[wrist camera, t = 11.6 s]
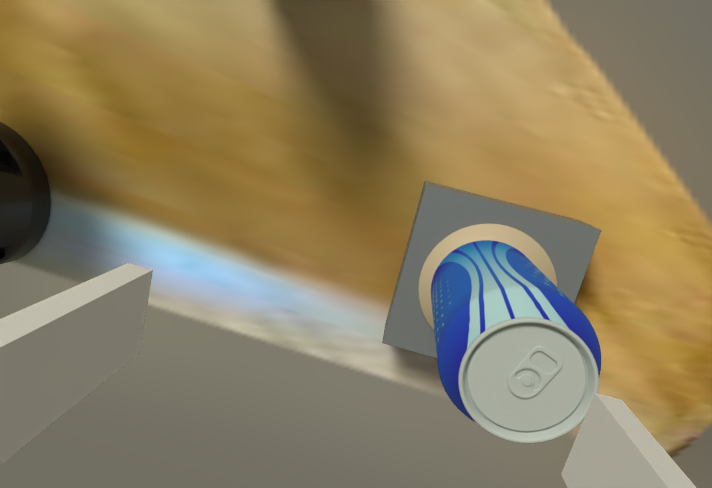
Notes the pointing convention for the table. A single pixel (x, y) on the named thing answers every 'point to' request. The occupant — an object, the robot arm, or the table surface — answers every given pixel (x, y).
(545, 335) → the beer can
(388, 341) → the riser
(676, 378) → the table surface
